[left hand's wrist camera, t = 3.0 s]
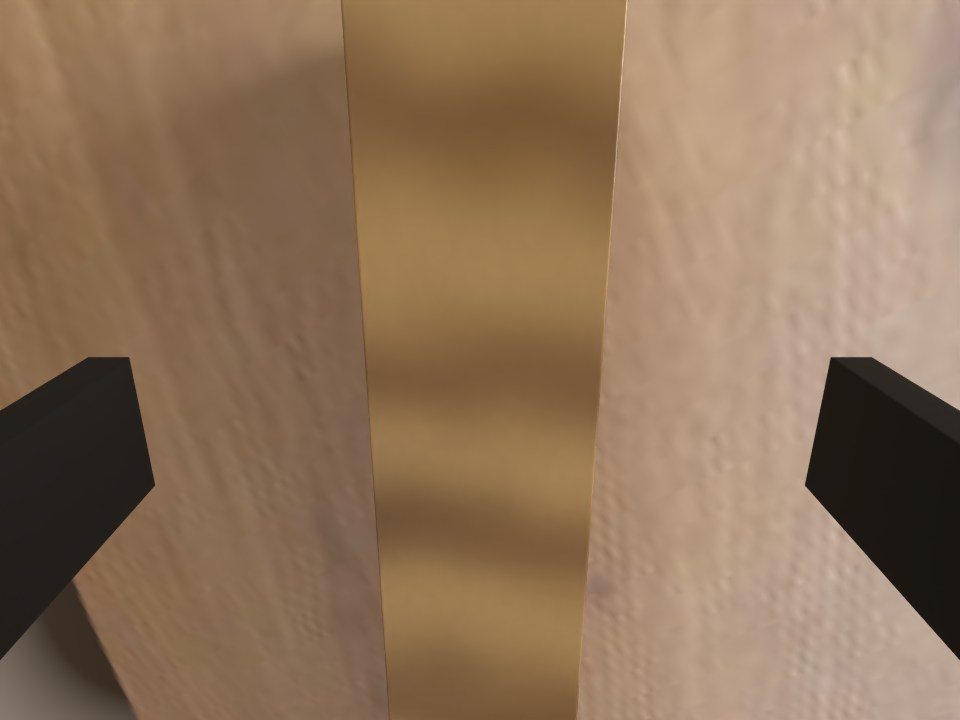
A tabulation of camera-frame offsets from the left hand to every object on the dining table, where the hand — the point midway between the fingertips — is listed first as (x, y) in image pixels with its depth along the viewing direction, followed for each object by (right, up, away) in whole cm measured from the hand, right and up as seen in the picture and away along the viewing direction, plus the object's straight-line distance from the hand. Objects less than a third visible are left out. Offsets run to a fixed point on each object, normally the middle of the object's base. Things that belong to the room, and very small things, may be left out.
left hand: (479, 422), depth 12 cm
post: (0, -17, +19) cm, 25 cm away
